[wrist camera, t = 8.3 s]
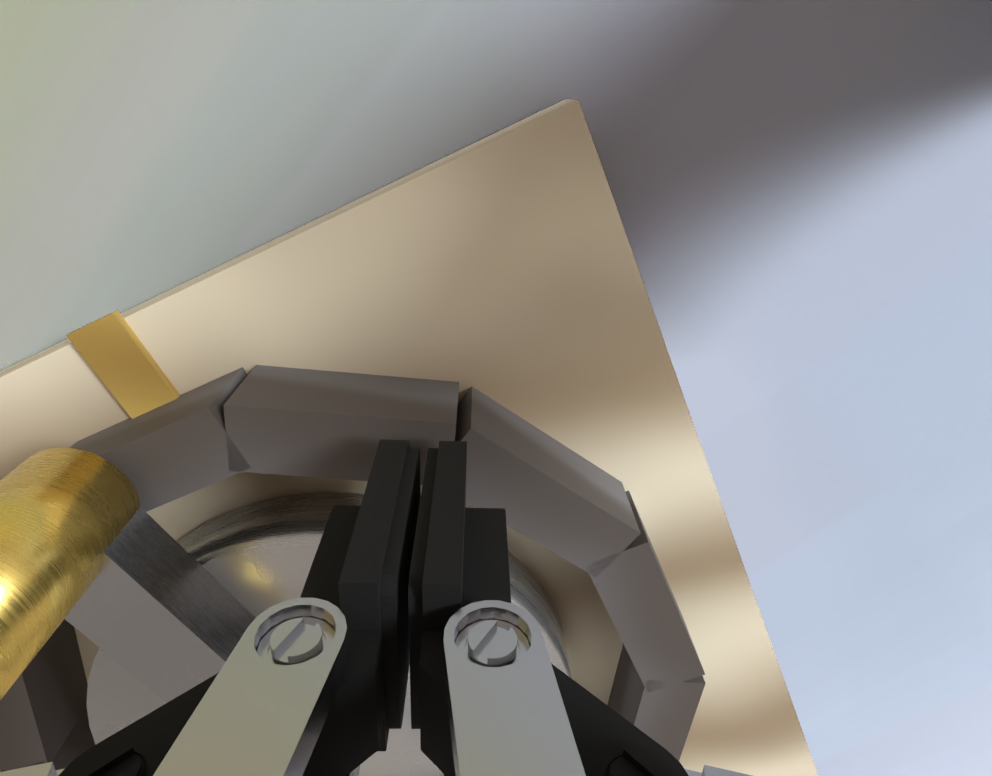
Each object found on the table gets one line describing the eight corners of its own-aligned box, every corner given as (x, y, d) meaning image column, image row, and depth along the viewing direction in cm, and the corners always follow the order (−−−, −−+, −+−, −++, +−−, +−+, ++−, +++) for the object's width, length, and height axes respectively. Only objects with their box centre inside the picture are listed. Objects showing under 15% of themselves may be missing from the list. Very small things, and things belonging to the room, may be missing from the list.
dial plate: (791, 722, 22) (851, 843, 19) (259, 884, 26) (223, 1014, 22) (562, 89, 14) (592, 88, 10) (-201, 458, 17) (-384, 558, 13)
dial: (639, 715, 19) (705, 969, 13) (315, 851, 21) (259, 1113, 16) (303, 269, 13) (176, 398, 7) (-93, 526, 15) (-409, 767, 10)
